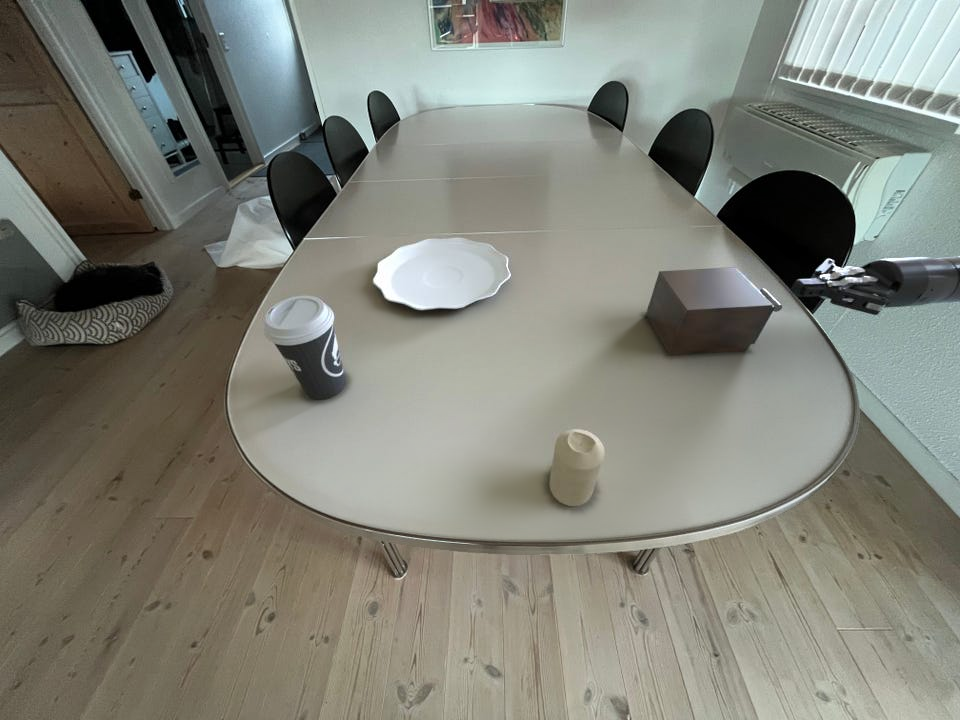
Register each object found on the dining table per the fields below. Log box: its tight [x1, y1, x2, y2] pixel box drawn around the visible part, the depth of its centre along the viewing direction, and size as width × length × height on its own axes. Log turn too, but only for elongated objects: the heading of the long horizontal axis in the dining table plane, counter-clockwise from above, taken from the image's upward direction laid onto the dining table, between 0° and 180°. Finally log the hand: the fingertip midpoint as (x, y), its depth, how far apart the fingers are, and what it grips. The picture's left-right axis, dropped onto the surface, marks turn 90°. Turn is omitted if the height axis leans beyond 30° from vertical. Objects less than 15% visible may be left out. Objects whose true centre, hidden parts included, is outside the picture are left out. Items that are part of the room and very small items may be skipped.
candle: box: [549, 428, 605, 507], centre depth 49 cm, size 6×6×10 cm
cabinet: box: [645, 266, 773, 356], centre depth 71 cm, size 14×12×10 cm
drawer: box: [740, 272, 783, 345], centre depth 71 cm, size 16×10×8 cm, turn 93°
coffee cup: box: [263, 295, 347, 401], centre depth 62 cm, size 10×10×15 cm
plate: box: [372, 237, 511, 312], centre depth 89 cm, size 29×29×2 cm
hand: (795, 288), depth 63 cm, fingers closed
